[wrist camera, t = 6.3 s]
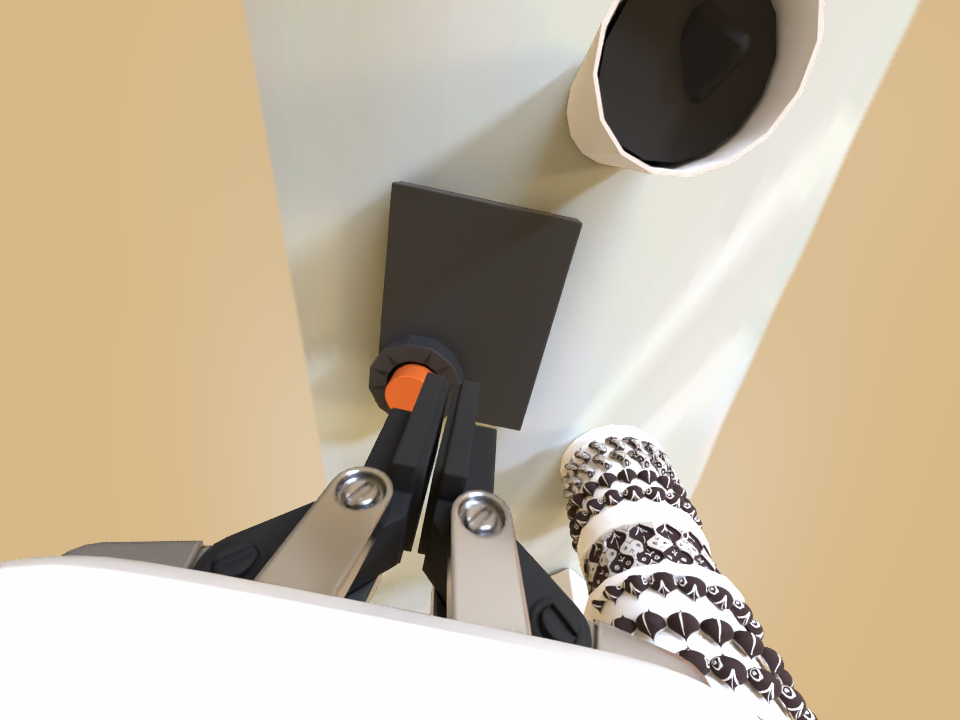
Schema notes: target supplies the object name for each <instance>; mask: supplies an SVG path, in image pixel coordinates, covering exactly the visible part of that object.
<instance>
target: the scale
mask: <svg viewBox="0 0 960 720" xmlns="http://www.w3.org/2000/svg"><path fill="white" fill-rule="evenodd" d="M581 227H582V223H581V222H580V221H579V220H577V219H575V218H570V217H565V216H561V215H556V214H551V213H547V212H542V211H537V210H533V209H528V208H523V207H519V206H514V205H510V204H505V203H500V202H496V201H491V200H486V199H482V198H477V197H472V196H468V195H463V194H458V193H454V192H449V191H444V190H440V189H435V188H430V187H426V186H421V185H416V184H412V183H407V182H403V181H400V182H393V183H392V192H391V204H390V217H389V230H388V242H387V255H386V268H385V281H384V293H383V306H382V319H381V331H380V344H379V355H378V357H377V358H376V359H375V361H374V362H373V364H372V365H371V367H370V378H369V389H370V391H371V393H372V395H373V397H374V399H375V401H376V402H377V404H378V406H379V407H380V408H381V409H382V410H384V411H385V412H386V413H388V414H389V413H390V411H391V410H392V409H391V408H390V407H389V406H388V404H387V402H386V399H385V389H386V387H387V385H388V383H389V381H390V379H391V378H392V376H393V374H394V372H395V371H396V370H397V369H398V368H399V367H401V366H403V365H406V364H419V365H423V366H425V367H427V368H428V369H430V370H431V371H432V372H433V373H434V374H439V375H443V376H445V379H444V380H445V381H449V382H450V388H449V393H448V398H447V403H446V408H445V413H444V418H445V417H446V416H448V413H449V409H450V405H451V401H452V397H453V393H454V389H455V385H456V383H459V384H463V381H464V380H466V381H471V382H476V383H480V391H479V398H478V405H477V412H476V420H475V422H479V423H484V424H489V425H494V426H499V427H504V428H509V429H514V430H519V431H520V430H521V426H522V423H523V420H524V416H525V413H526V410H527V406H528V403H529V400H530V396H531V393H532V390H533V386H534V383H535V380H536V376H537V373H538V370H539V367H540V363H541V360H542V357H543V353H544V350H545V347H546V343H547V340H548V337H549V333H550V330H551V327H552V323H553V320H554V317H555V313H556V310H557V307H558V303H559V300H560V297H561V293H562V290H563V287H564V283H565V280H566V277H567V273H568V270H569V267H570V263H571V260H572V257H573V253H574V250H575V247H576V244H577V240H578V237H579V234H580V230H581ZM444 418H443V419H444Z"/></svg>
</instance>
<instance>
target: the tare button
mask: <svg viewBox="0 0 960 720" xmlns="http://www.w3.org/2000/svg"><path fill="white" fill-rule="evenodd" d="M428 372H429V373H433V372H432V371H431V370H430V369H428V368H427V367H425V366H423V365H419V364H406V365H403V366H401V367H399V368H398V369H397V370H396V371H395V372H394V374H393V376H392V378H391V379H390V381H389V383H388V385H387V387H386V389H385V399H386V402H387V404H388V406H389V407H390V408H391V409H392V408H398V409H403V410H408V411H412V410H413V408H414V405H415V403H416V400H417V398H418V395H419V393H420V390H421V387H422V385H423V382H424V380H425V377H426V375H427V373H428Z"/></svg>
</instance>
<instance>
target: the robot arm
mask: <svg viewBox="0 0 960 720" xmlns="http://www.w3.org/2000/svg"><path fill="white" fill-rule="evenodd" d="M444 379H445V376H443V375H439V374H434V373H429V372H428V373H427V375H426V377H425V380H424V382H423V385H422V387H421V390H420V393H419V395H418V398H417V400H416V403H415V405H414V408H413V410H412V411H408V410H403V409H398V408H392V410H391V411H390V413H389V415H388V418H387V420H386V422H385V424H384V426H383V428H382V430H381V432H380V434H379V436H378V438H377V440H376V442H375V445H374V447H373V449H372V451H371V453H370V455H369V457H368V459H367V461H366V463H365V465H364V467H354V468H350V469H347V470H345V471H343V472H341V473H339V474H338V475H337V476H336V477H335V478H334V479H333V480H332V481H331V483H330V484H329V485H328V486H327V488H326V489H325V490H324V491H323V493H322V494H321V495H320V497H319V498H318V499H317V500H316V501H315V502H312V503H310V504H307V505H305V506H302V507H300V508H298V509H295V510H292V511H290V512H288V513H285V514H283V515H280V516H278V517H275V518H273V519H270V520H268V521H265V522H263V523H260V524H258V525H256V526H253V527H251V528H248V529H246V530H243V531H241V532H238V533H236V534H234V535H231V536H229V537H226V538H225V539H223V540H221V541H219V542H217V543H215V544H214V545H213V546H203V541H152V542H101V543H94V544H88V545H84V546H81V547H78V548H76V549H73V550H70V551H68V552H66V553H65V554H63V555H61V556H46V557H33V558H25V559H19V560H11V561H4V562H0V720H760V719H759V718H758V717H756V716H755V715H754V714H752V713H751V712H750V711H748V710H747V709H746V708H744V707H742V706H741V705H739V704H738V703H736V702H735V701H733V700H731V699H730V698H728V697H727V696H725V695H723V694H722V693H720V692H718V691H717V690H715V689H713V688H712V687H711V686H710V684H709V682H708V681H707V679H706V678H705V676H704V675H703V674H702V673H701V672H700V671H699V670H698V669H697V668H696V667H695V666H694V665H693V664H692V663H690V662H689V661H687V660H686V659H684V658H683V657H681V656H679V655H676V654H674V653H672V652H670V651H668V650H665V649H663V648H661V647H659V646H656V645H654V644H652V643H650V642H647V641H645V640H643V639H641V638H639V637H636V636H634V635H632V634H630V633H627V632H625V631H623V630H621V629H619V628H616V627H614V626H612V625H610V624H607V623H605V622H603V621H601V620H597V622H596V624H595V623H593V622H591V621H589V620H587V619H586V618H585V616H584V615H583V614H582V612H581V611H580V609H579V608H578V607H577V606H576V604H575V603H574V602H573V601H572V600H571V599H570V598H569V597H568V596H567V595H566V594H565V592H564V591H563V590H562V589H561V588H560V587H559V586H558V585H557V584H556V583H555V581H554V580H553V579H552V578H551V577H550V576H549V575H548V574H547V573H546V572H545V570H544V569H543V568H542V567H541V566H540V565H539V564H538V563H537V562H536V561H535V560H534V558H533V557H532V556H531V555H530V554H529V553H528V552H527V551H526V550H525V549H524V547H523V546H522V545H521V544H520V543H519V542H518V541H517V540H516V538H515V532H514V526H513V521H512V516H511V513H510V510H509V508H508V506H507V505H506V504H505V502H504V501H503V500H502V499H500V498H499V497H498V496H496V495H494V494H493V490H494V472H495V454H496V437H497V430H496V429H492V428H487V427H483V426H478V425H475V420H476V412H477V405H478V398H479V391H480V383H476V382H471V381H466V380H464V381H463V384H459V383H456V385H455V389H454V393H453V397H452V401H451V405H450V409H449V413H448V417H447V421H446V425H445V429H444V433H443V437H442V441H441V445H440V449H439V453H438V457H437V460H436V465H435V469H434V473H433V478H432V483H431V488H430V493H429V498H428V503H427V508H426V513H425V518H424V523H423V528H422V533H421V538H420V543H419V548H418V553H420V554H425V559H424V564H423V569H422V570H423V571H424V573H425V574H426V576H427V577H428V579H429V580H430V582H431V583H432V585H433V586H432V591H431V612H430V615H427V614H422V613H417V612H412V611H407V610H401V609H396V608H391V607H386V606H381V605H376V604H371V603H370V601H371V599H372V597H373V595H374V593H375V591H376V589H377V587H378V585H379V583H380V579H381V576H382V573H384V572H385V571H387V570H389V569H390V568H392V567H394V566H395V565H397V563H400V561H401V557H402V554H403V550H405V551H410V552H411V550H412V546H413V542H414V539H415V535H416V531H417V527H418V523H419V519H420V515H421V511H422V507H423V504H424V500H425V496H426V492H427V488H428V484H429V480H430V476H431V472H432V469H433V465H434V461H435V457H436V453H437V448H438V443H439V438H440V433H441V428H442V423H443V418H444V413H445V408H446V403H447V398H448V393H449V388H450V382H449V381H445V380H444Z"/></svg>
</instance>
